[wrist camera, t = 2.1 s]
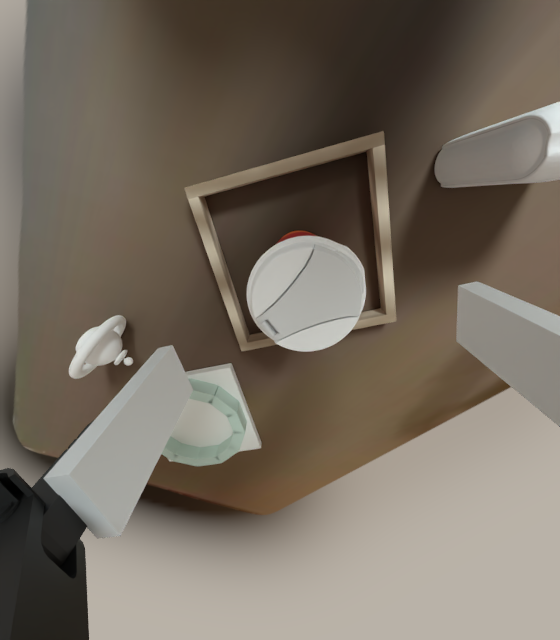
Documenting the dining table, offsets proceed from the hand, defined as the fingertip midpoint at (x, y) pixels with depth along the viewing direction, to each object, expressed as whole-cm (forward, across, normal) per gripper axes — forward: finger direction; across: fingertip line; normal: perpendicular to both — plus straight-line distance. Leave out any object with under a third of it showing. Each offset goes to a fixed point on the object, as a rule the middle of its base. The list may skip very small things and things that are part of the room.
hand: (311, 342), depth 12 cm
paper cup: (+18, 0, 0) cm, 18 cm away
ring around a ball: (+18, -23, -4) cm, 30 cm away
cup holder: (+18, -19, -18) cm, 32 cm away
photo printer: (+18, +19, +6) cm, 27 cm away
